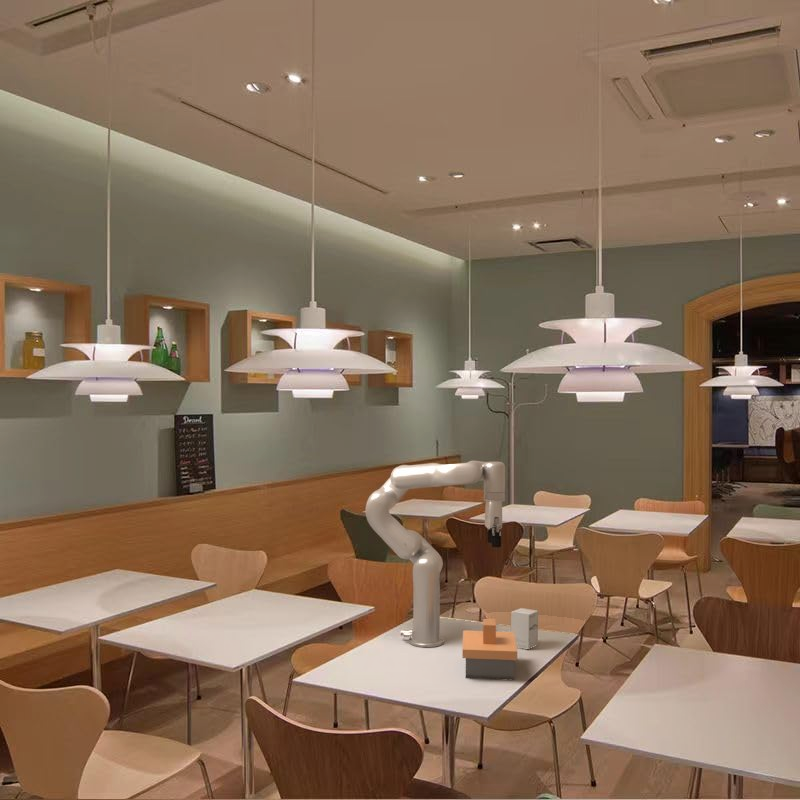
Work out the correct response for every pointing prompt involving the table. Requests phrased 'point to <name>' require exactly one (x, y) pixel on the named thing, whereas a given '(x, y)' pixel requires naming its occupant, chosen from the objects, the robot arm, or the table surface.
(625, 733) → the table surface
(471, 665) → the tub
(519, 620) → the supplement box
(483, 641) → the lid
